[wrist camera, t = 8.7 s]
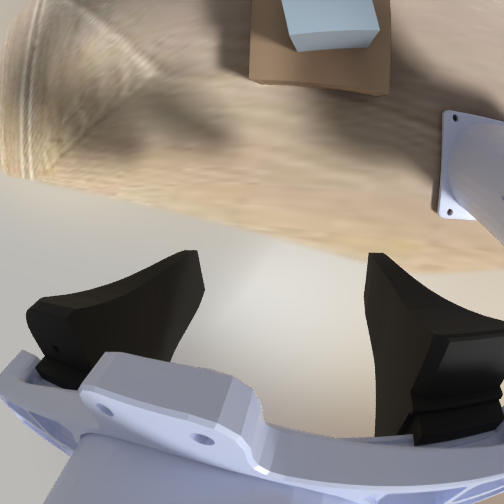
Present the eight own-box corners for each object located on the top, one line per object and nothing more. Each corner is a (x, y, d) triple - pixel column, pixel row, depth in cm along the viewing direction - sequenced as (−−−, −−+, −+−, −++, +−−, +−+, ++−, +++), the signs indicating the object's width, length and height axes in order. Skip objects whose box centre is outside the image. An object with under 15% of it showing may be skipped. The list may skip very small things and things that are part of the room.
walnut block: (378, -2, 13) (388, -22, 9) (377, 96, 17) (389, 93, 13) (266, -11, 14) (253, -32, 11) (262, 84, 18) (248, 79, 15)
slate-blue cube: (352, -10, 11) (358, -39, 7) (367, 47, 12) (379, 30, 9) (284, -5, 12) (272, -33, 8) (297, 52, 13) (289, 35, 10)
